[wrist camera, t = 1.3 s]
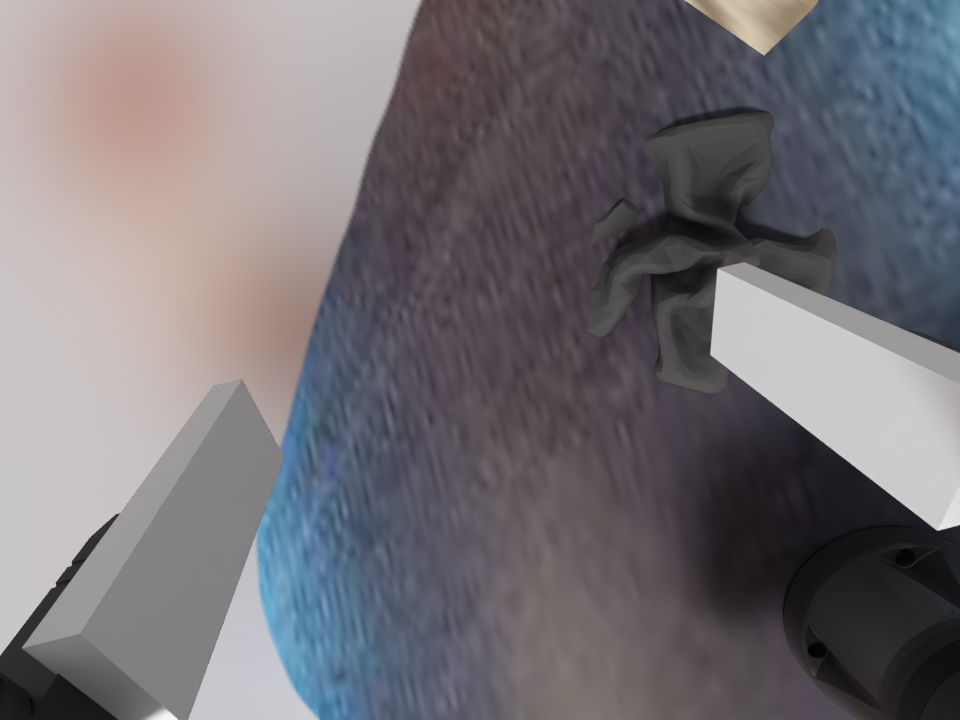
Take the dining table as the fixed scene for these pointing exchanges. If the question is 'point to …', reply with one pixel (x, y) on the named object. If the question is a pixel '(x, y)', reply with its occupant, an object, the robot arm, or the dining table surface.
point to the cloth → (700, 243)
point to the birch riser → (756, 18)
